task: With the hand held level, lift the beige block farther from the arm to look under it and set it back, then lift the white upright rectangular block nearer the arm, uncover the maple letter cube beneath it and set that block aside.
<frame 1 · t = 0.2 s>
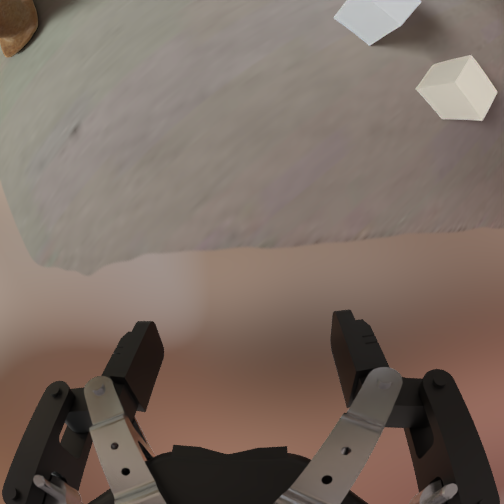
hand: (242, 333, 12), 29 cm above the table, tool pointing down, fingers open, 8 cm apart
beige block: (437, 91, 31), on the table
white upright rectangular block: (362, 19, 28), on the table
brown boot-shaped piece: (25, 21, 24), on the table
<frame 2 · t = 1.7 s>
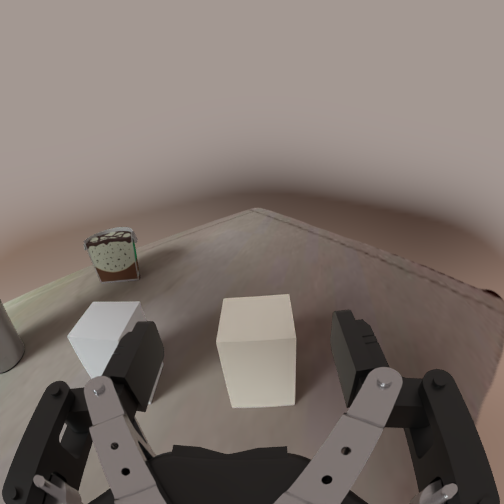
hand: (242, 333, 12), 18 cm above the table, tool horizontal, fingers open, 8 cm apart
beige block: (263, 384, 30), on the table
food container: (124, 275, 58), on the table
white upright rectangular block: (133, 381, 31), on the table
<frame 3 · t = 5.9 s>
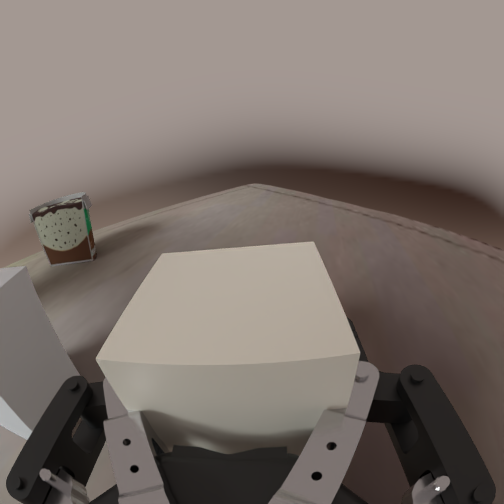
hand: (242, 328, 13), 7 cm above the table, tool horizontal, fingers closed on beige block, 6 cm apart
beige block: (255, 438, 13), on the table, touching gripper
food container: (79, 256, 41), on the table
white upright rectangular block: (40, 406, 14), on the table
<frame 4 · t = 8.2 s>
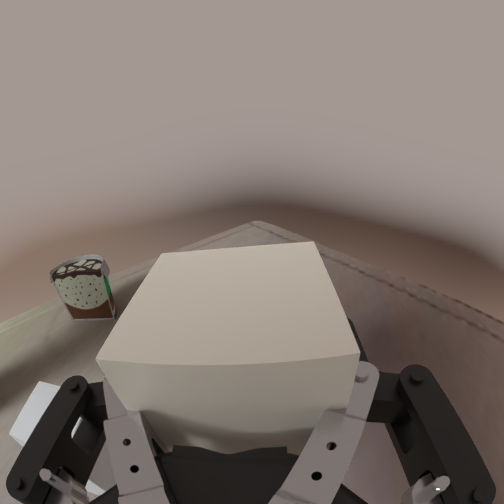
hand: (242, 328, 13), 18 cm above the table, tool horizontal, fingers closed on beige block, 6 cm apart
beige block: (255, 438, 13), point 11 cm above the table, touching gripper
food container: (99, 311, 46), on the table
white upright rectangular block: (103, 469, 19), on the table
when the fingers open (7 cm above the table, at t = 10.6 s): beige block stays where it is, on the table.
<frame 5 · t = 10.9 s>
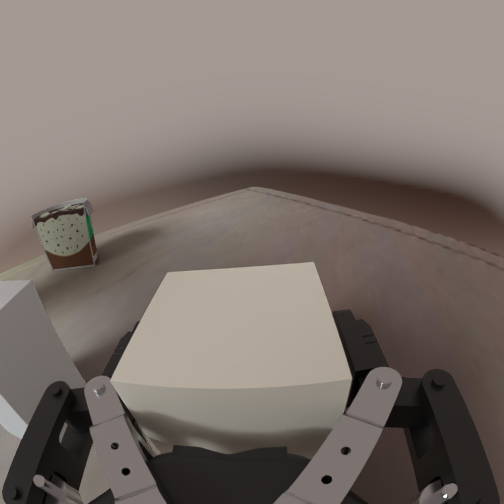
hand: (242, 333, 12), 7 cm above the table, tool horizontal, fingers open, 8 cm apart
beige block: (256, 444, 14), on the table
food container: (81, 261, 42), on the table
white upright rectangular block: (47, 413, 15), on the table
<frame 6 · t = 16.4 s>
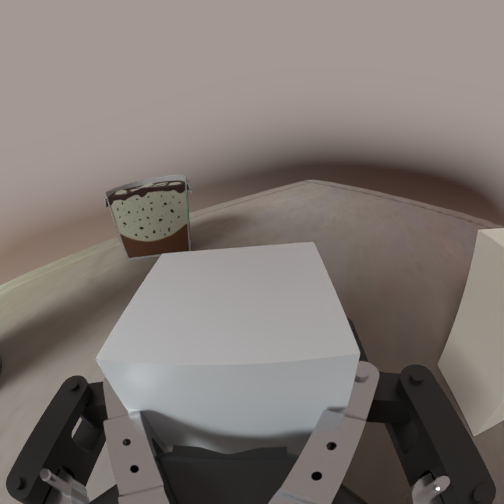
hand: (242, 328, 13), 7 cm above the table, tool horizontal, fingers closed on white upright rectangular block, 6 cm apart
beige block: (488, 384, 12), on the table
food container: (163, 248, 40), on the table
white upright rectangular block: (255, 438, 13), on the table, touching gripper
when the fingers open (7 cm above the table, at t = 21.8 s): white upright rectangular block stays where it is, on the table.
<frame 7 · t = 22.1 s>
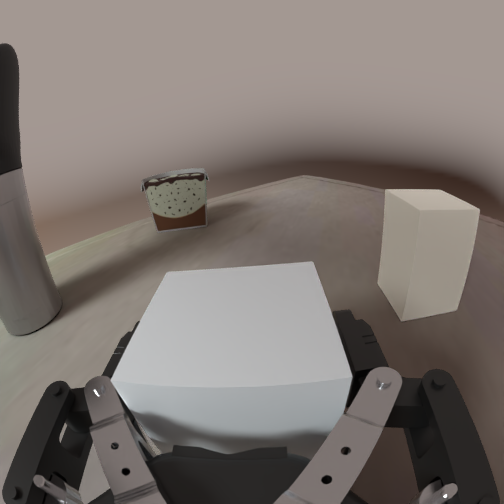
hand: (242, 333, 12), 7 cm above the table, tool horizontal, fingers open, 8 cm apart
beige block: (416, 296, 25), on the table
food container: (184, 225, 53), on the table
white upright rectangular block: (256, 443, 14), on the table
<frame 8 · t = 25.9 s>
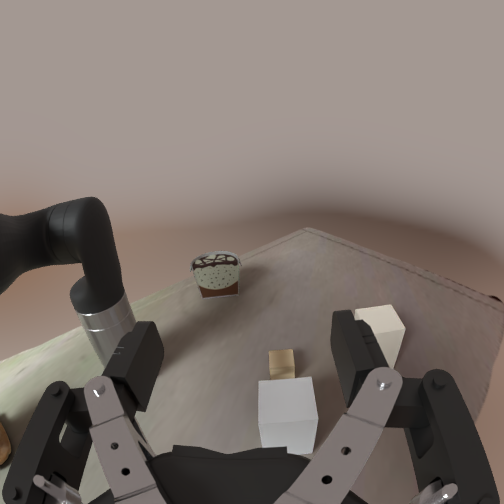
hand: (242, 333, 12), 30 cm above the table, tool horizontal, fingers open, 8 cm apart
letter cube: (281, 365, 45), on the table
beige block: (370, 361, 45), on the table
food container: (220, 291, 73), on the table
white upright rectangular block: (287, 436, 34), on the table
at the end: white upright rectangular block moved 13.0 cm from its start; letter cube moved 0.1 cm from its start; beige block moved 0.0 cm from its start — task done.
